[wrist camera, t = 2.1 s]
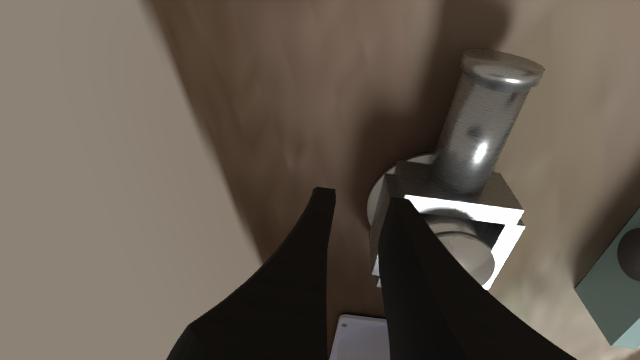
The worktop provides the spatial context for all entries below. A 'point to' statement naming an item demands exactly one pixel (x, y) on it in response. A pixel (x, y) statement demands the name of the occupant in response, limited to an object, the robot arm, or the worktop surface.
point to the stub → (448, 231)
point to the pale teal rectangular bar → (616, 288)
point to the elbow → (469, 156)
